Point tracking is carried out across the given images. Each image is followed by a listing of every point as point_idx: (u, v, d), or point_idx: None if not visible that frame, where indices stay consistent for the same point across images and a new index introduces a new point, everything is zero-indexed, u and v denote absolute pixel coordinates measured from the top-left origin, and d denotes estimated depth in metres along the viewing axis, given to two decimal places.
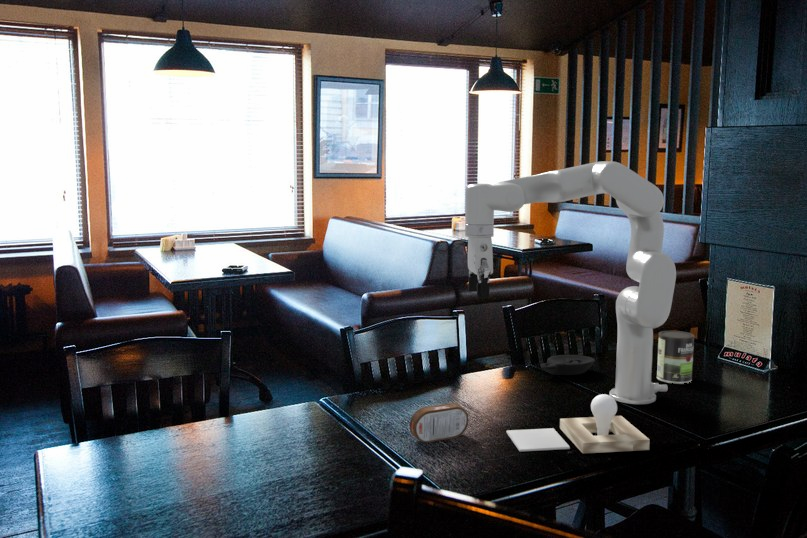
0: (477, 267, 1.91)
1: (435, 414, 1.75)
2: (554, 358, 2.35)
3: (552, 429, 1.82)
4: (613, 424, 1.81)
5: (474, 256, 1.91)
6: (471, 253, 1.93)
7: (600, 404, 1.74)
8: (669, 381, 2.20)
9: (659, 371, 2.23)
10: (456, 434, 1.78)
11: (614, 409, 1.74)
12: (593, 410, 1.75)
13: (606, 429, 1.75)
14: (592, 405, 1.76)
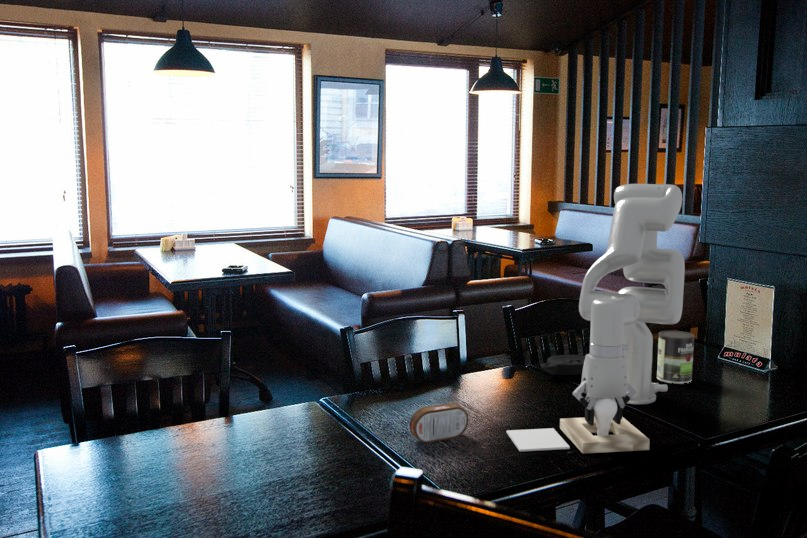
0: None
1: (435, 414, 1.75)
2: (554, 358, 2.35)
3: (552, 429, 1.82)
4: (613, 424, 1.81)
5: (624, 378, 1.73)
6: (615, 376, 1.73)
7: (600, 404, 1.74)
8: (669, 381, 2.20)
9: (659, 371, 2.23)
10: (456, 434, 1.78)
11: (614, 409, 1.74)
12: None
13: (606, 429, 1.75)
14: None
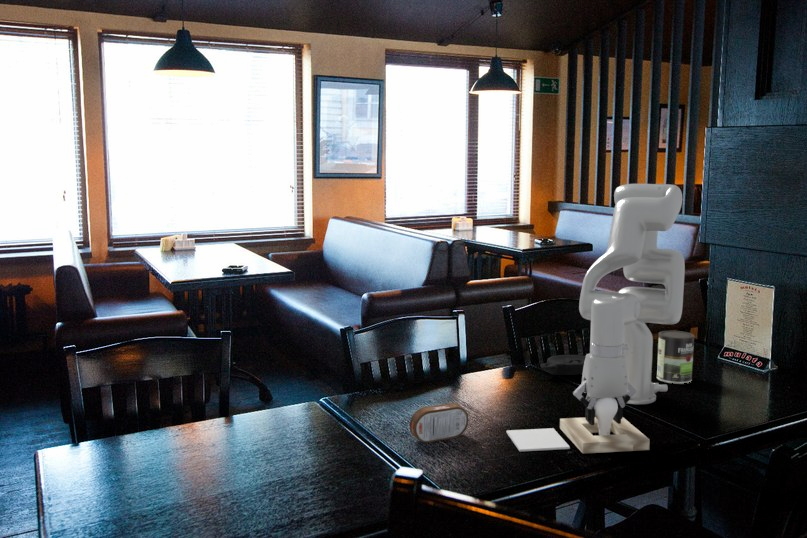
0: None
1: (435, 414, 1.75)
2: (554, 358, 2.35)
3: (552, 429, 1.82)
4: (613, 424, 1.81)
5: (624, 377, 1.73)
6: (615, 376, 1.73)
7: (600, 403, 1.74)
8: (669, 381, 2.20)
9: (659, 371, 2.23)
10: (456, 434, 1.78)
11: (615, 408, 1.74)
12: None
13: (607, 428, 1.76)
14: None
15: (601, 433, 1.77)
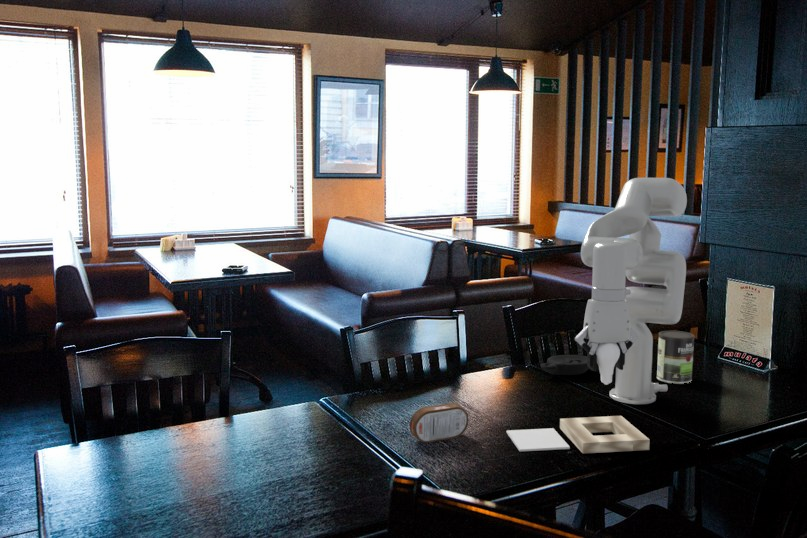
0: None
1: (435, 414, 1.75)
2: (554, 358, 2.35)
3: (552, 429, 1.82)
4: (613, 424, 1.81)
5: (626, 322, 1.71)
6: (618, 320, 1.71)
7: (602, 348, 1.72)
8: (669, 381, 2.20)
9: (659, 371, 2.23)
10: (456, 434, 1.78)
11: (617, 353, 1.72)
12: None
13: (609, 374, 1.74)
14: None
15: (603, 379, 1.75)
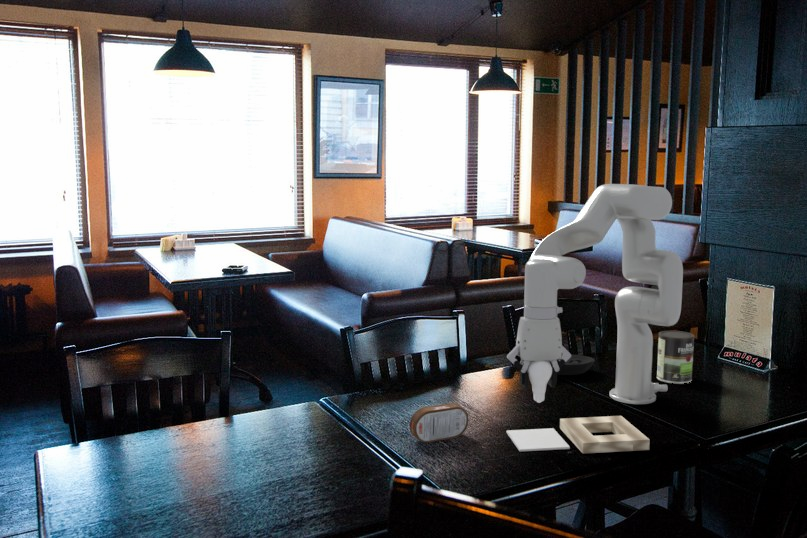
0: None
1: (435, 414, 1.75)
2: None
3: (552, 429, 1.82)
4: (613, 424, 1.81)
5: (558, 340, 1.71)
6: (549, 339, 1.70)
7: (534, 366, 1.71)
8: (669, 381, 2.20)
9: (659, 371, 2.23)
10: (456, 434, 1.78)
11: (548, 372, 1.71)
12: (528, 373, 1.73)
13: (541, 392, 1.73)
14: (527, 368, 1.73)
15: (535, 397, 1.74)
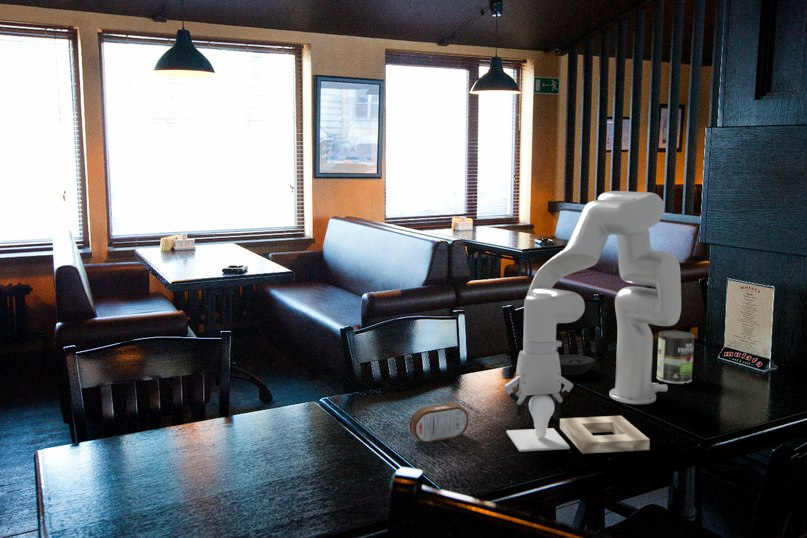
0: None
1: (435, 414, 1.75)
2: None
3: (552, 429, 1.82)
4: (613, 424, 1.81)
5: (557, 374, 1.72)
6: (548, 373, 1.72)
7: (536, 403, 1.73)
8: (669, 381, 2.20)
9: (659, 371, 2.23)
10: (456, 434, 1.78)
11: (551, 409, 1.73)
12: (530, 409, 1.74)
13: (543, 429, 1.75)
14: (529, 404, 1.75)
15: (537, 433, 1.75)
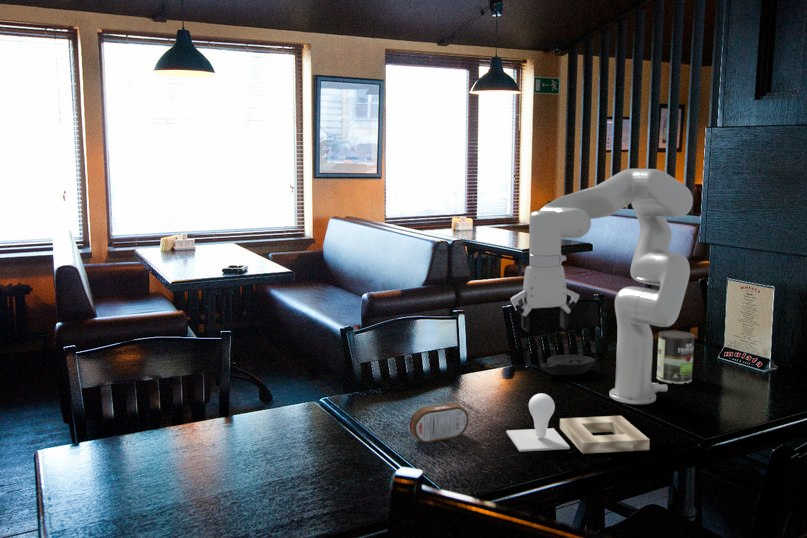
0: (566, 297, 1.80)
1: (435, 414, 1.75)
2: (554, 358, 2.35)
3: (552, 429, 1.82)
4: (613, 424, 1.81)
5: (563, 287, 1.79)
6: (554, 286, 1.78)
7: (537, 403, 1.73)
8: (669, 381, 2.20)
9: (659, 371, 2.23)
10: (456, 434, 1.78)
11: (551, 408, 1.73)
12: (530, 409, 1.74)
13: (543, 428, 1.75)
14: (529, 404, 1.75)
15: (537, 433, 1.75)
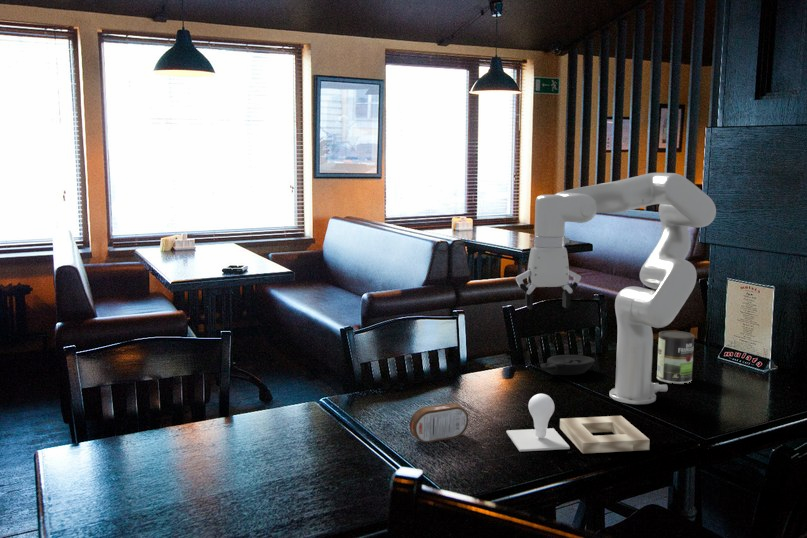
0: (568, 278, 1.90)
1: (435, 414, 1.75)
2: (554, 358, 2.35)
3: (552, 429, 1.82)
4: (613, 424, 1.81)
5: (565, 267, 1.88)
6: (557, 266, 1.88)
7: (536, 403, 1.73)
8: (669, 381, 2.20)
9: (659, 371, 2.23)
10: (456, 434, 1.78)
11: (551, 409, 1.73)
12: (530, 409, 1.74)
13: (543, 429, 1.75)
14: (529, 404, 1.75)
15: (537, 433, 1.75)
